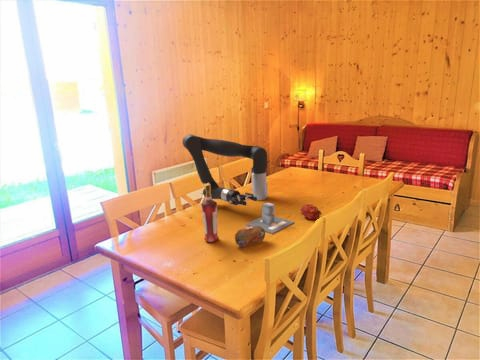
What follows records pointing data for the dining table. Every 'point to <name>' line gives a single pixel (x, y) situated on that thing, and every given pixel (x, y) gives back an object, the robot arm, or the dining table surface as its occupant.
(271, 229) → the letter board
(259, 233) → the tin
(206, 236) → the liquor
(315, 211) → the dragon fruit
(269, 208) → the grey block
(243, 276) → the dining table surface
